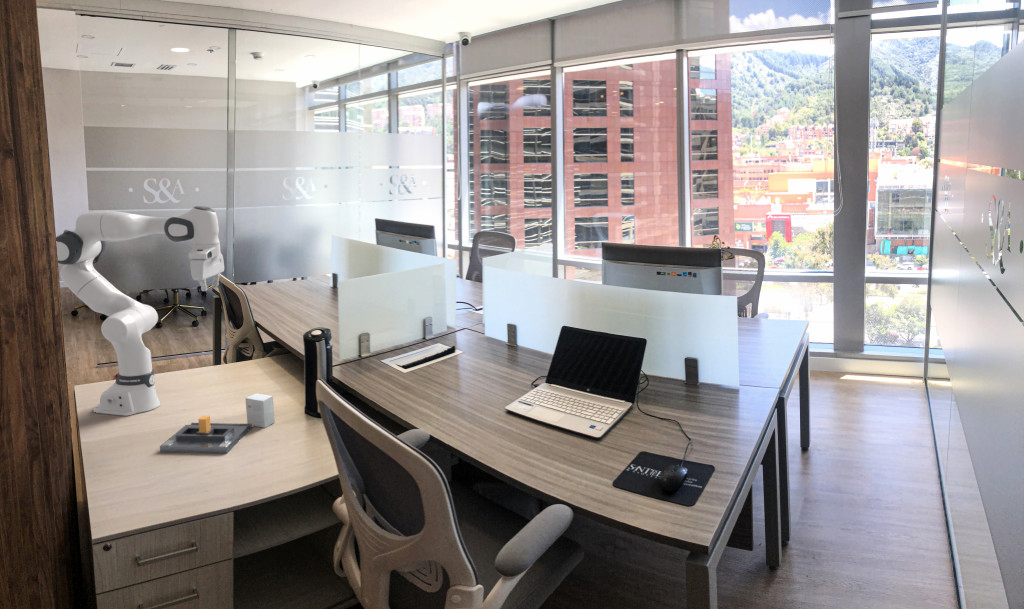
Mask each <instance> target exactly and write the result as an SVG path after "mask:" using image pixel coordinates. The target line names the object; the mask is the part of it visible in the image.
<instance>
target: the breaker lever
mask: <svg viewBox="0 0 1024 609" xmlns="http://www.w3.org/2000/svg"><path fill="white" fill-rule="evenodd" d="M210 416H211V415H201V416H200V417H199V418H198V423H199V431H198V432H197V433H196V434H203V435H212V434H213V433H214V428H211V426H210V423H211V417H210Z"/></svg>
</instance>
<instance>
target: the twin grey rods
mask: <svg viewBox="0 0 1024 609" xmlns="http://www.w3.org/2000/svg"><path fill="white" fill-rule="evenodd" d="M190 425H199V422H191V423H190ZM210 425H217V426H248V431H249V430H251V428H253V426H252V424H247V423H233V422H232V423H231V422H230V423H228V422H227V423H226V422H225V423H224V422H223V423H222V422H221V423H218V422H210Z"/></svg>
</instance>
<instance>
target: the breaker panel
mask: <svg viewBox="0 0 1024 609" xmlns="http://www.w3.org/2000/svg"><path fill="white" fill-rule="evenodd" d="M210 426H211V428H214V433H213V434H212V435H203V434H196V433H197V432H198V431H199V425H191V424H185V425H184V426H183V427H181V428H180V429H179V430H178V431H176V432H175V433H174V434H173V435H172V436H171V437H169V438H168V439H167V440H165V442H163V443H162V444H161V445H159V452H160V453H193V454H194V453H195V454H198V453H199V454H228V453H229V452H230V451H231V450H232V449H233V448H234V447H235V446H236V445H237V444H238V443H239V442H240V441H241V440H242V439H243V437H244V436H246V434H248V432H249V430H248V426H217V425H210ZM239 440H240V441H239Z"/></svg>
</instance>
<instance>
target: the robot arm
mask: <svg viewBox="0 0 1024 609" xmlns="http://www.w3.org/2000/svg"><path fill="white" fill-rule="evenodd" d="M219 233H220V226H219V220H218V215H217V212H216V211H215V210H214V209H213V208H211V207H208V206H201V205H200V206H199V205H198V206H193V207H192V208H191V209H189V210H188V211H186V212H183V213H181V214H178V215H177V214H176V215H174V216H148V215H143V214H134V213H131V212H126V211H125V212H123V211H117V210H95V211H87V212H83V213H81V214H79V216H78V217H77V218H76V220H75V229H74V230H72V231H71V230H66V231H65V232H63V233H61V234H59V235H58V236H56V237H55V238H56V241H57V255H58V264H61V265H63V266H62V268H61V269H60V271H59V277H60V279H61V280H62V282H63V284H65V286H66V287H67V288H68V290H70V291H71V292H72V293H73V294H74V295H75V296H76V297H77V298H78V299H79V300H81V301H82V303H84V304H85V306H87V307H88V308H89V309H90V310H92V311H94V313H95V312H96V313H99V314H103V315H105V316H107V318H106V319H105V320H104V321H103V322H102V324H101V327H100V330H101V334H102V336H103V338H105V340H106V341H108V342H110V343H111V345H112V346H113V348H114V352H115V354H116V359H117V366H118V373H116V374H115V375H114V376H112V381H113V380H115V382H114V383H113V384H112V385H110V386H109V387H108V388H106V389H105V390H104V391H103V392H102V393H101V394H100V397H99V403H98V404H97V405H95V406H94V407H93V413H95V412H96V413H97V414H105V415H113V416H115V415H116V416H122V417H123V416H124V417H127V416H131V415H135V414H139V413H145V412H149V411H152V410H155V409H157V408H158V407H159V406H160V405H161V402H160V399H159V397H158V393H157V391H156V386H155V384H156V383H155V379H156V378H155V371H154V369H153V365H152V364H153V363H152V352H151V350H150V349H149V348H148V347H146V346H145V344H144V342H143V338H142V336H143V334H145V333H147V332H149V331H151V329H153V328H154V327H155V326H156V324H157V323H158V320H159V314H158V312H157V311H156V309H155V308H154V307H153V306H151V305H149V304H145V303H141V302H140V301H137V300H136V299H134V298H132V297H130V296H128V295H127V294H125V293H123V292H122V291H120V290H119V289H118V288H116V287H115V286H114V285H113V283H111V282H109V280H108V279H107V278H105V277H104V276H103V275H102V274H100V273H99V271H97V270H96V268H95V267H94V264H97V263H98V261H99V260H100V258H101V256H102V255H103V253H104V252H105V250H106V242H122V241H123V242H124V241H129V240H130V241H131V240H134V239H137V238H141V237H145V236H149V235H150V236H151V235H157V234H158V235H159V234H160V235H162V234H163V235H164V234H165V235H166V237H167V238H168V239H169V240H171V242H174V243H185V242H189V241H192V242H193V247H192V249H191V250H190V251H189V252H188V259H189V260H190V262H189V267H190V273H191V277H192V280H193V281H198V284H199V285H200V290H201V291H202V292H206V291H208V289H209V287H208V285H207V279H209V278H211V277H212V281H211V283H212V284H211V286H212V287H217V286H219V284H220V283H219V281H220V274H221V273H224V272H225V261H224V256H223V254H222V252H221V244H220V243H221V242H220V239H219ZM96 413H95V414H96Z"/></svg>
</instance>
